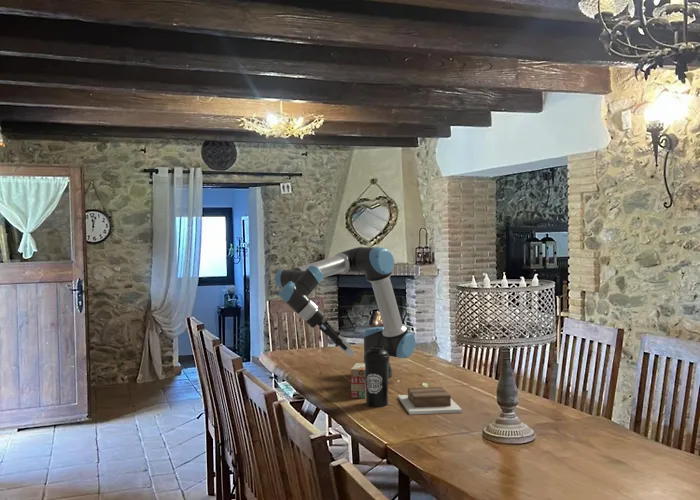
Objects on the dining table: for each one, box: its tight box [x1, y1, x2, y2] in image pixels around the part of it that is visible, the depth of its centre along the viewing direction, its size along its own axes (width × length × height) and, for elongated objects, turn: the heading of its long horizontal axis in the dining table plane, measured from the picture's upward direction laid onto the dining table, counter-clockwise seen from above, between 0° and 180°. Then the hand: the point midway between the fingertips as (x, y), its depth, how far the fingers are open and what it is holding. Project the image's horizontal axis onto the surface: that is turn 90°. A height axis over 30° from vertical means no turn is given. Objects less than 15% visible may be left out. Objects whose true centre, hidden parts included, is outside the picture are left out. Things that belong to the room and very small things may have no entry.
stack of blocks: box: [350, 362, 366, 399], centre depth 272 cm, size 21×6×12 cm, turn 168°
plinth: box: [407, 386, 452, 407], centre depth 250 cm, size 14×14×4 cm
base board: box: [398, 394, 463, 416], centre depth 250 cm, size 24×20×1 cm
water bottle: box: [363, 345, 391, 408], centre depth 252 cm, size 10×10×23 cm
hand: (350, 351), depth 250 cm, fingers open, 13 cm apart
